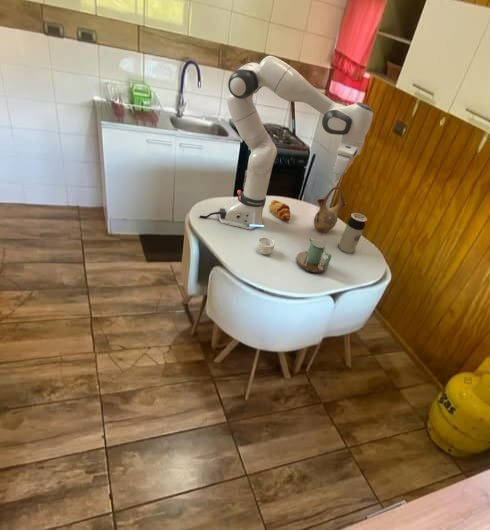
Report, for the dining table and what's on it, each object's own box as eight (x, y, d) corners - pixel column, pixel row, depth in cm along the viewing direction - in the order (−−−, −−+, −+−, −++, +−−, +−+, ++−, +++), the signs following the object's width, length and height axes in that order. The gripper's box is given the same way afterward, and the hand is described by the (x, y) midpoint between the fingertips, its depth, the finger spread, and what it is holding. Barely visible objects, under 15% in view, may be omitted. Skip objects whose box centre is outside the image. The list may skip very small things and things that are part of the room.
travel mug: (335, 244, 187) (347, 212, 177) (348, 243, 190) (361, 212, 180) (343, 253, 182) (356, 221, 171) (356, 253, 184) (371, 221, 174)
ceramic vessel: (331, 226, 203) (348, 183, 188) (339, 235, 196) (356, 191, 181) (304, 225, 198) (318, 181, 183) (310, 234, 191) (326, 189, 176)
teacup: (274, 257, 168) (276, 247, 165) (257, 256, 166) (260, 246, 163) (268, 244, 176) (271, 234, 173) (252, 243, 174) (255, 233, 171)
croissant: (266, 209, 212) (262, 198, 207) (282, 202, 213) (279, 190, 207) (281, 228, 196) (278, 217, 191) (298, 220, 197) (296, 208, 192)
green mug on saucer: (289, 256, 168) (296, 237, 163) (312, 251, 176) (319, 232, 170) (312, 277, 159) (319, 257, 153) (335, 270, 166) (343, 251, 160)
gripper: (349, 139, 160) (338, 170, 168) (336, 150, 144) (325, 183, 152) (363, 143, 158) (352, 174, 166) (352, 155, 143) (340, 188, 151)
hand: (339, 179), depth 159 cm, fingers open, 8 cm apart
